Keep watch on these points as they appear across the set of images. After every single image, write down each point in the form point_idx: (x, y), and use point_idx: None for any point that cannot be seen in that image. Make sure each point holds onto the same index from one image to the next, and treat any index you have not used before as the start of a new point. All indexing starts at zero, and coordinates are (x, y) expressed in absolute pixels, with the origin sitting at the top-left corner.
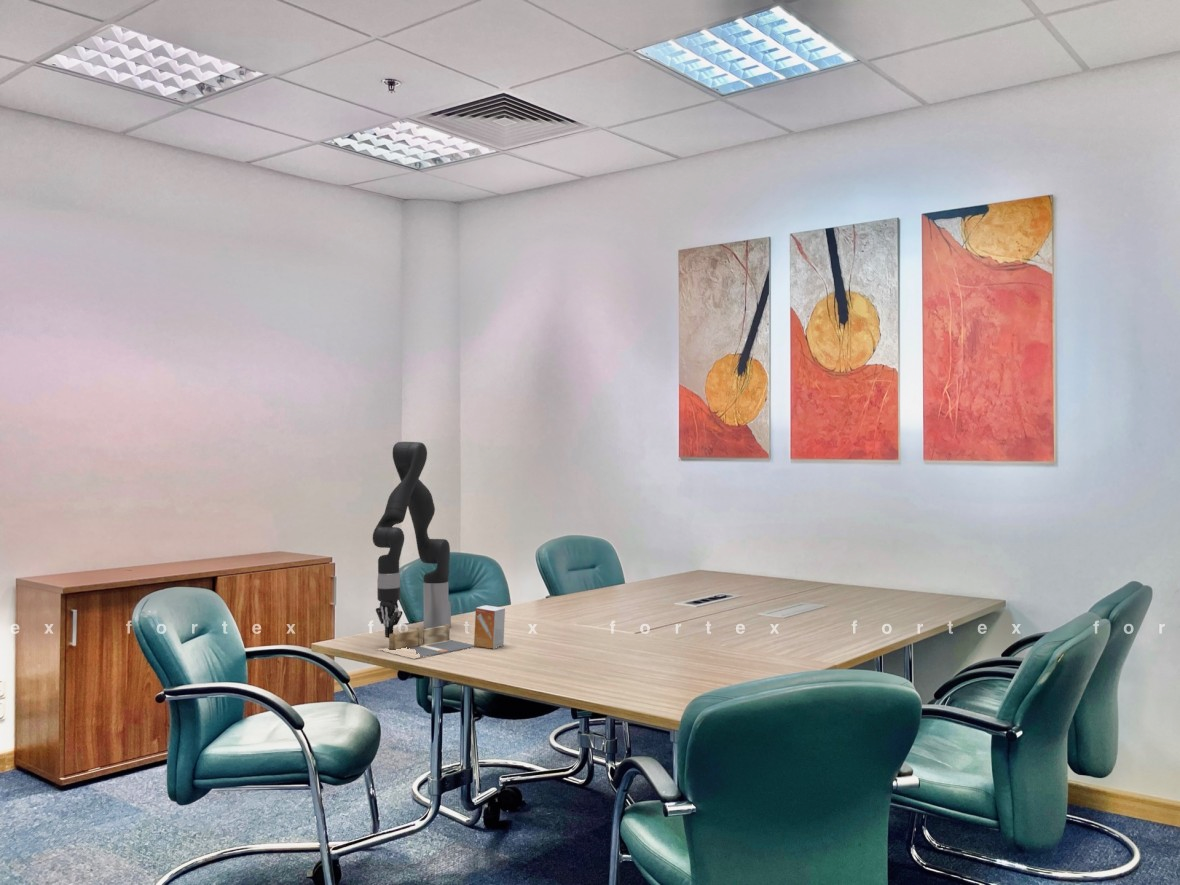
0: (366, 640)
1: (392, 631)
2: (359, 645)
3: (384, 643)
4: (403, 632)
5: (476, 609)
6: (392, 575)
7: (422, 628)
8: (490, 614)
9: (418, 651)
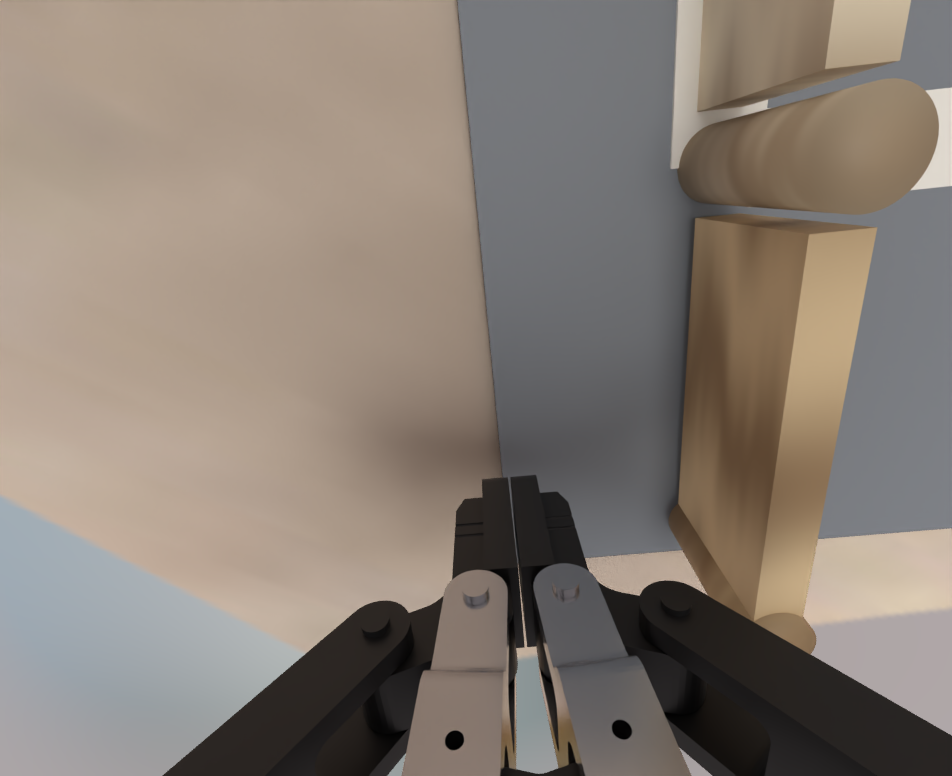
0: (18, 439)
1: (574, 537)
2: (227, 571)
3: (266, 377)
4: (794, 484)
5: None
6: None
7: (919, 104)
8: None
9: (936, 346)
